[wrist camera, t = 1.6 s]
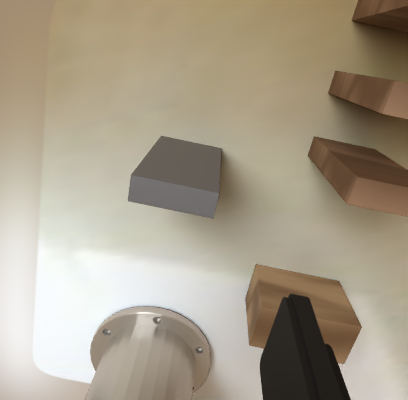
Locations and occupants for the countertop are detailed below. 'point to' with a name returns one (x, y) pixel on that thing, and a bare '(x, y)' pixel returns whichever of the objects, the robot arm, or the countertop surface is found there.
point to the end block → (320, 299)
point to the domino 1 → (178, 177)
